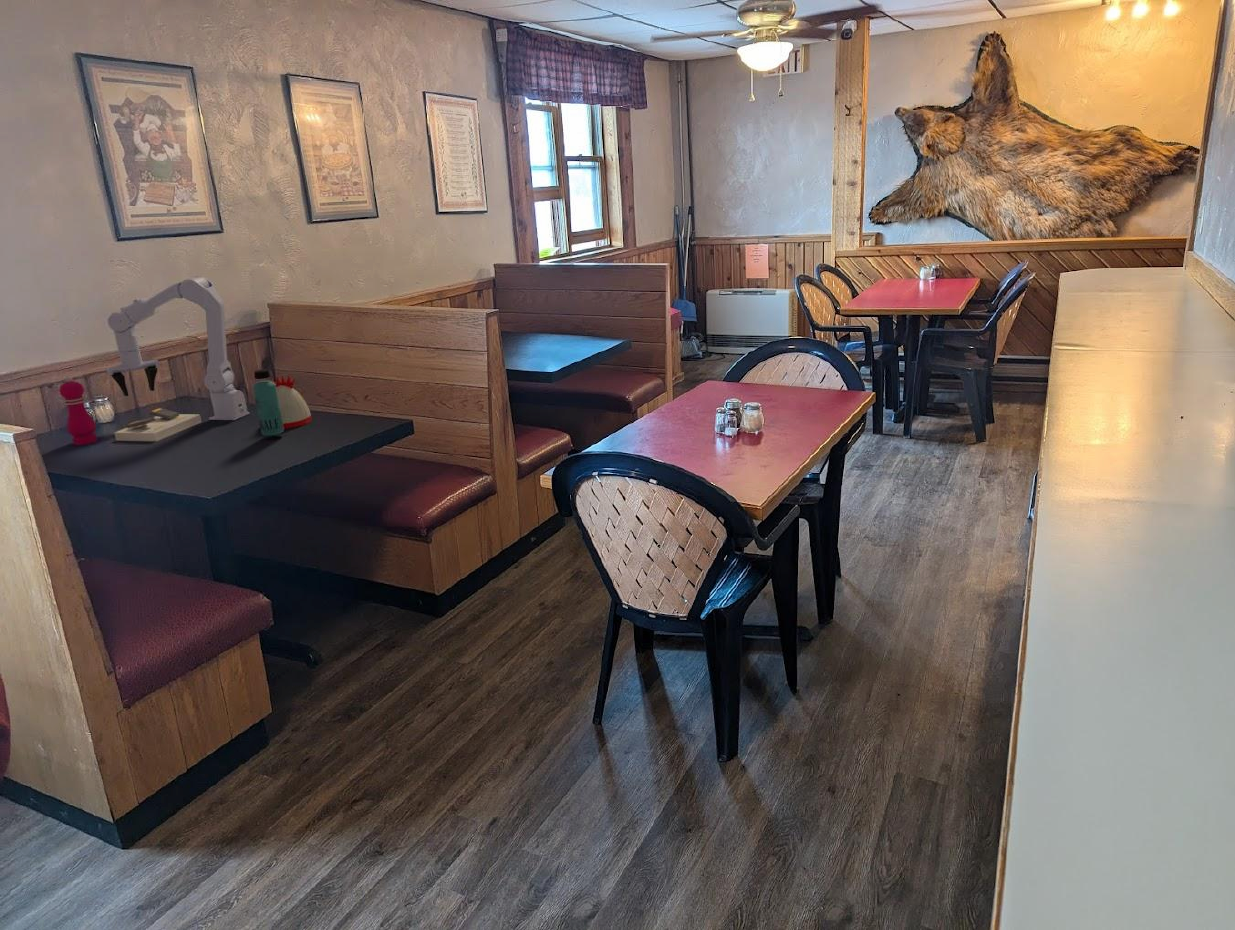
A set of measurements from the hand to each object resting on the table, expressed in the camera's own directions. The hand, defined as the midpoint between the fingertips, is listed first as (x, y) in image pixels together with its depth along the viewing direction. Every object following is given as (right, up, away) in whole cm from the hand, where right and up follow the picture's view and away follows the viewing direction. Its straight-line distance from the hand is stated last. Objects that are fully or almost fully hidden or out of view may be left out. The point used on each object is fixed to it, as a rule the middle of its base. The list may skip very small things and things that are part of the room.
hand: (139, 393), depth 269 cm
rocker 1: (+8, -10, -13) cm, 18 cm away
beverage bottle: (+51, -15, -20) cm, 56 cm away
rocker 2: (+10, -7, -4) cm, 12 cm away
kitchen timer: (+49, -10, -5) cm, 50 cm away
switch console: (+10, -12, -7) cm, 18 cm away
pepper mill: (-8, -16, -15) cm, 23 cm away
